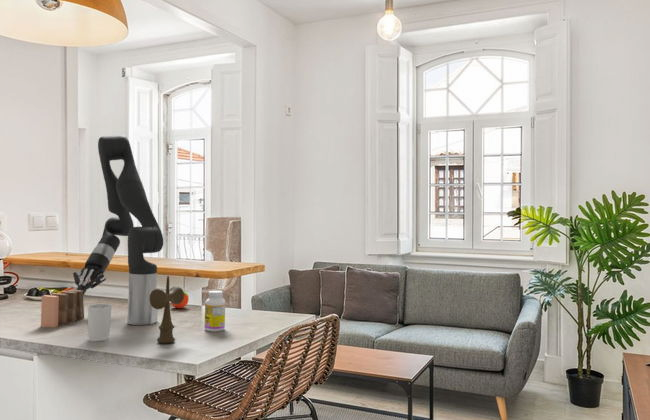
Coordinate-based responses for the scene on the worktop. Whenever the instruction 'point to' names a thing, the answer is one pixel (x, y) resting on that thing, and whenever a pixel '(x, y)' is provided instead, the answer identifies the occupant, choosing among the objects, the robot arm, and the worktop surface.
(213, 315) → the supplement bottle
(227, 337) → the worktop surface
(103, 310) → the drinking glass
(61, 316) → the domino
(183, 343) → the worktop surface
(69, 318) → the domino
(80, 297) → the domino
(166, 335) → the kendama
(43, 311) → the domino
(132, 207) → the robot arm
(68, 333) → the worktop surface
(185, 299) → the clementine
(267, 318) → the worktop surface
